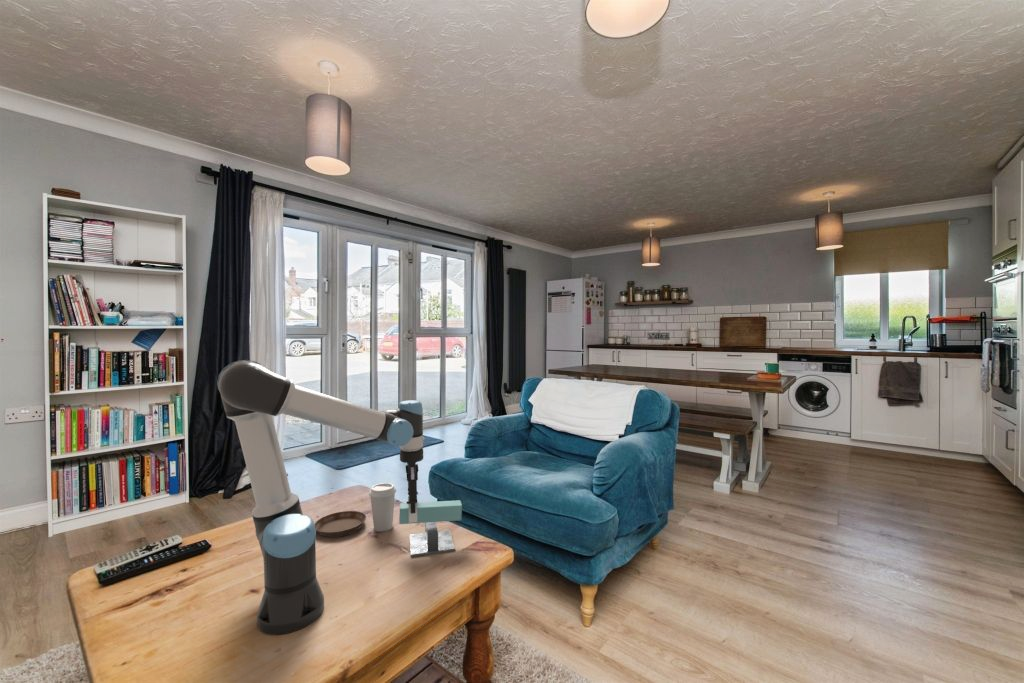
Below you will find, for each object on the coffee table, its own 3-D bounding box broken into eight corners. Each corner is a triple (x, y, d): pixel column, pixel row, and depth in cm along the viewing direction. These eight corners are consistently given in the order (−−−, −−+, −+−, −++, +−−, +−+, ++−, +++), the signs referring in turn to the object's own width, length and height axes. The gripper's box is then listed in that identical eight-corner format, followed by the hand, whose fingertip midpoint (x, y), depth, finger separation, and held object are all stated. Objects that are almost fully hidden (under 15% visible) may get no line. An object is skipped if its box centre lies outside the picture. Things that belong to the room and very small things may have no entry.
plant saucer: (303, 532, 155) (303, 523, 155) (347, 514, 170) (347, 506, 170) (333, 545, 145) (332, 536, 145) (376, 525, 160) (376, 517, 160)
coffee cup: (402, 525, 159) (401, 485, 159) (381, 536, 151) (381, 493, 151) (384, 519, 164) (383, 480, 164) (363, 529, 156) (363, 488, 156)
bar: (461, 520, 144) (461, 505, 144) (399, 524, 139) (400, 508, 139) (459, 514, 149) (460, 500, 149) (399, 518, 144) (400, 503, 144)
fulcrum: (455, 550, 140) (454, 532, 140) (410, 557, 137) (410, 538, 137) (450, 531, 154) (449, 514, 154) (409, 536, 150) (409, 519, 150)
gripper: (424, 454, 134) (426, 528, 135) (421, 440, 151) (422, 506, 152) (399, 456, 133) (401, 532, 133) (399, 442, 149) (400, 509, 150)
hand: (412, 518), depth 143 cm, fingers closed on bar, 4 cm apart
